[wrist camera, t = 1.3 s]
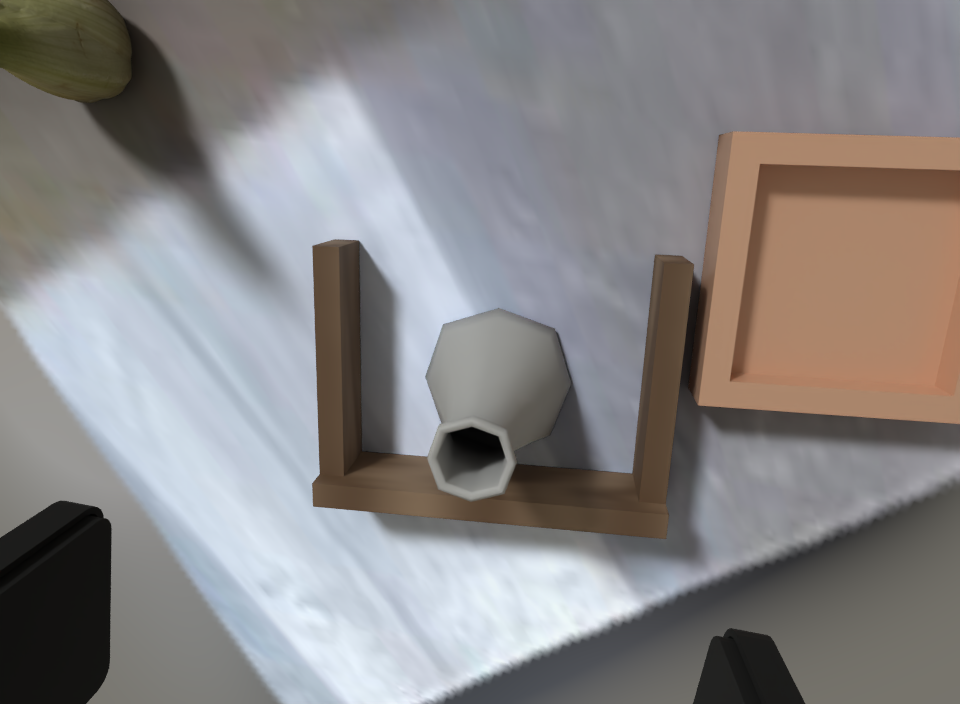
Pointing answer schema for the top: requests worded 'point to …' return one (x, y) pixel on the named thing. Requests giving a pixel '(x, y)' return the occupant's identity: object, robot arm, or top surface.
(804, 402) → the tray
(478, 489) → the flask
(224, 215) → the top surface
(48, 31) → the fennel bulb
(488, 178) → the top surface
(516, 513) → the bay
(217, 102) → the top surface
